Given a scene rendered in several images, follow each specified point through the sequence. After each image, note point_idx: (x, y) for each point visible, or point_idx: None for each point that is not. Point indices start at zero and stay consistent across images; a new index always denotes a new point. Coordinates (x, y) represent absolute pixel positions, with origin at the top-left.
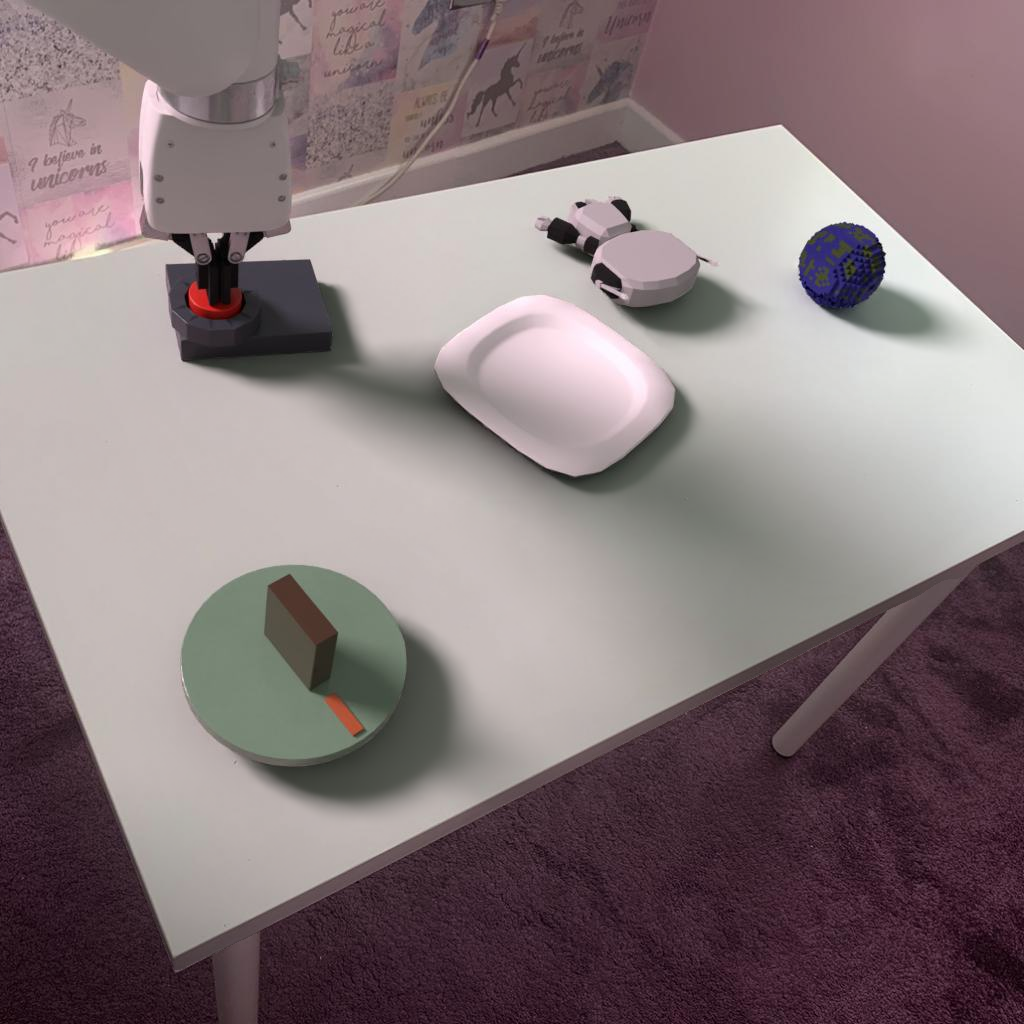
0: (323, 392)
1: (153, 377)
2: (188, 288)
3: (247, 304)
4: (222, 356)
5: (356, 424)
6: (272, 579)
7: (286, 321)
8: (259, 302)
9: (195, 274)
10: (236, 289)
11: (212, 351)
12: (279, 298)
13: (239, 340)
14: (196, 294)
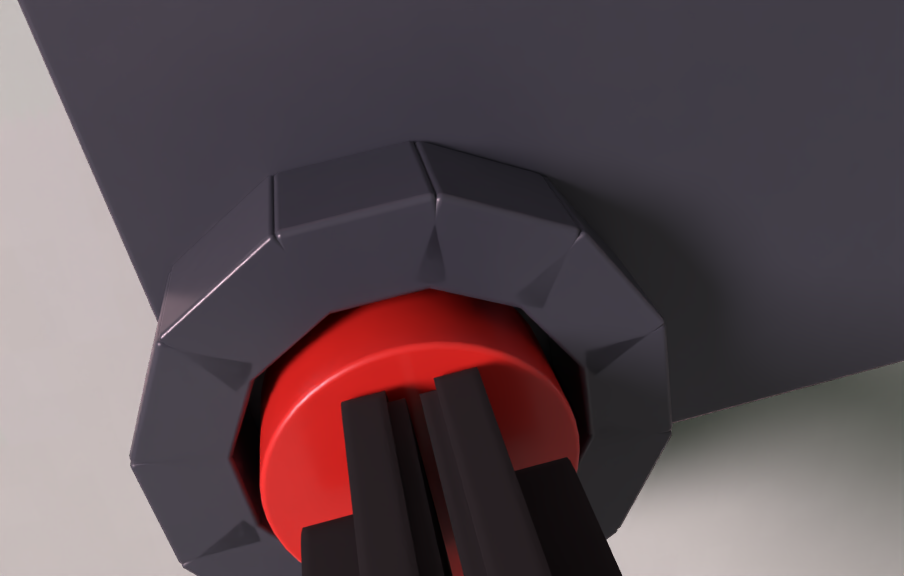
0: (786, 478)
1: (157, 539)
2: (245, 398)
3: (597, 446)
4: None
5: (855, 569)
6: None
7: (751, 331)
8: (663, 414)
9: (301, 538)
10: (551, 423)
11: None
12: (749, 177)
13: None
14: (311, 510)
